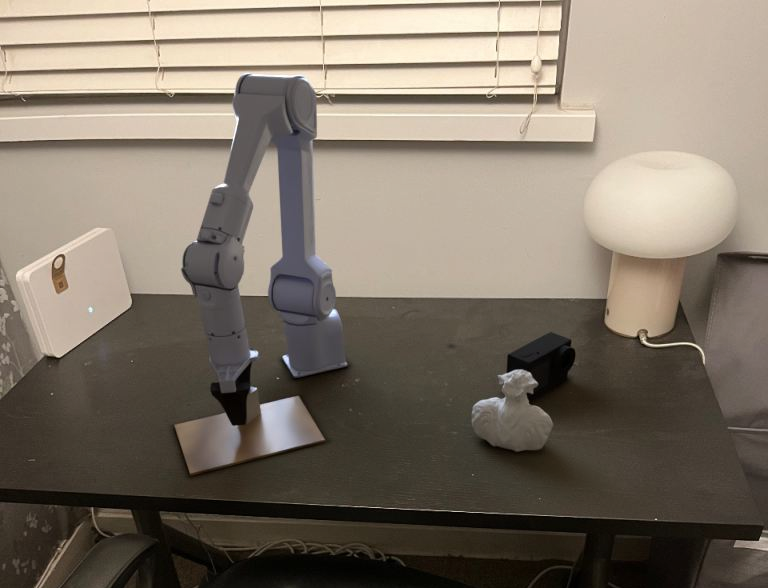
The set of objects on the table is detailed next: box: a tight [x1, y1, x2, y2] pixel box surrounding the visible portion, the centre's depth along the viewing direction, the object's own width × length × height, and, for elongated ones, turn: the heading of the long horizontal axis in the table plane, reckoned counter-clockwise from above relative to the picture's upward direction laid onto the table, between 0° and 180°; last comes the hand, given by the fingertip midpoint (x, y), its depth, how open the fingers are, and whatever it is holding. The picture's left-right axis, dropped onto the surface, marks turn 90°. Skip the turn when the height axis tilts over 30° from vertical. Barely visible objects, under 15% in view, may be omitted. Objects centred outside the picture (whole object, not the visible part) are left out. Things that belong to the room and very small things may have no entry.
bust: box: [470, 369, 554, 453], centre depth 109 cm, size 12×8×11 cm, turn 62°
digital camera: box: [506, 331, 577, 401], centre depth 120 cm, size 10×5×7 cm, turn 131°
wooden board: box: [173, 395, 326, 477], centre depth 116 cm, size 20×14×1 cm
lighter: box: [246, 385, 261, 425], centre depth 115 cm, size 7×2×8 cm, turn 150°
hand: (241, 410), depth 116 cm, fingers open, 7 cm apart
